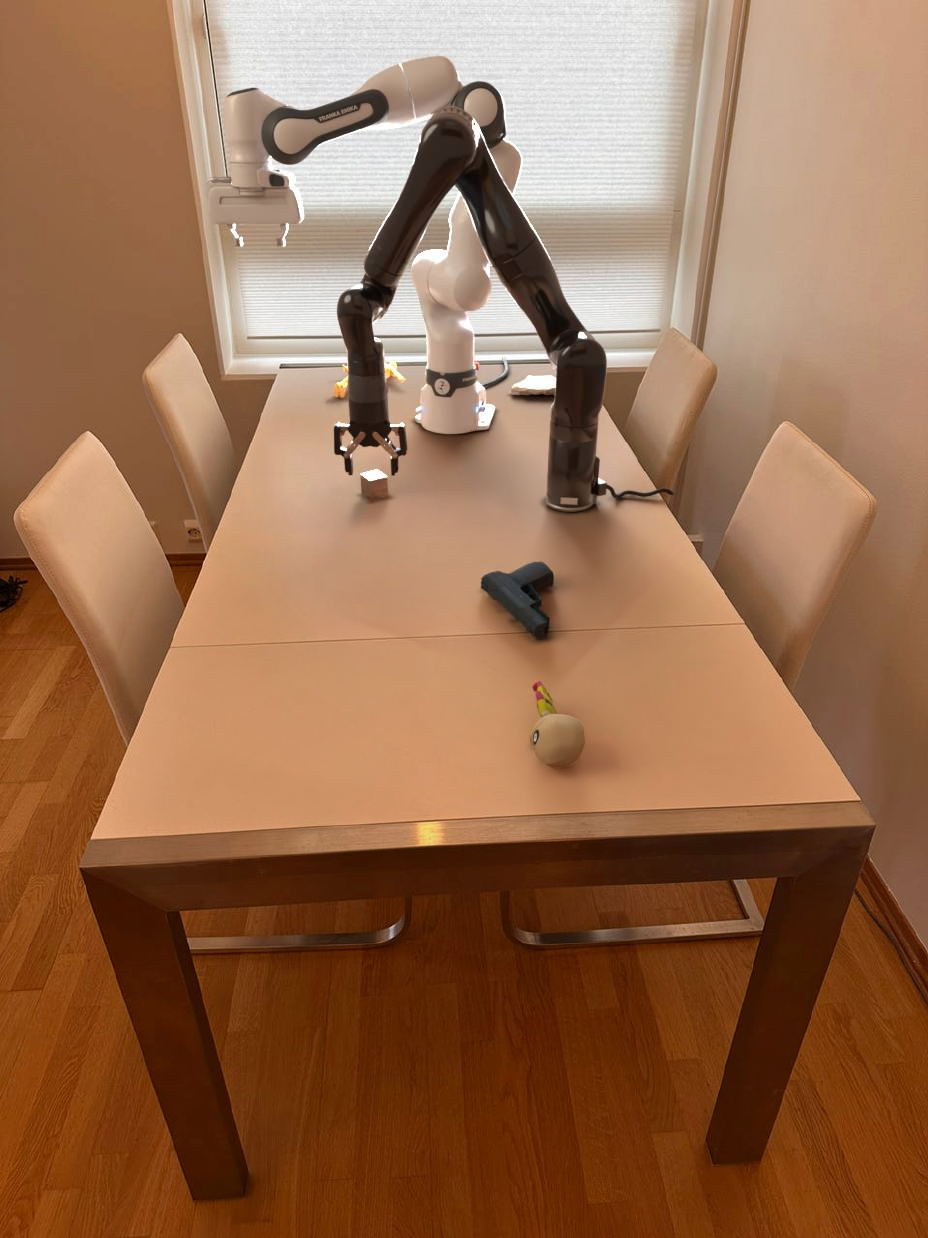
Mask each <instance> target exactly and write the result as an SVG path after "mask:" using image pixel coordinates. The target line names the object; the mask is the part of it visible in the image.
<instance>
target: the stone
mask: <svg viewBox="0 0 928 1238" xmlns="http://www.w3.org/2000/svg"><path fill="white" fill-rule="evenodd" d="M555 388H556V376H554V375H526V378H525V379H524V380H521V381H519V382H517V383H514V384H513V385H512V386H511V388H510V390H509V395H512V396H513V395H515V396H520V395H521V396H530V395H535V396H536V395H538V396H539V395H545V396H550V395H553V396H555Z"/></svg>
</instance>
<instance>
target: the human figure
mask: <svg viewBox="0 0 928 1238" xmlns="http://www.w3.org/2000/svg"><path fill="white" fill-rule="evenodd" d="M342 367H343V368H342V370H343V371H344V372H346V373H348V366H347V365H346V366H345V364H342ZM397 369H398V366H397V363H396V362H394V361H389V362H388V363H385V374H386V379H387V380H388V379H389V378H390V377H391V376H392V377H393V378H395V379H397V380H398V381H399V382H400V383H404V382H405V381H407V379H408V377H405V376H402V375H401V373H399V372H398V371H397ZM347 381H348V376H345V377H344V378H343V379H342V380H341V381H340V382H336V383H335V384H334V390H333V394H334V396H335V397H340V398H344V397H345V396H346V389H348V386H347Z"/></svg>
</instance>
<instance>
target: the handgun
mask: <svg viewBox="0 0 928 1238" xmlns="http://www.w3.org/2000/svg"><path fill="white" fill-rule="evenodd" d="M480 579H481V581H480V589H481V590H482V591H484V592H485V593H486V594H488V595H489V597H490V598H491V599H492V600H494V601H495V602H497V603H498V604H499V605H500V606H501V607H502V608H503V609H505V611H506V612H507V613H508V614H510V615H511V617H512V618H513V619H515V621H517V622H518V623H519V624H520V625H521V626H522V627H524V628H525V631H526V633H530V634H531V635H532V636H533V637H534V638H535V639H536V640H539V639H543V638H546V637H547V636H548V634H549V629H550V617H549V616H548V614H546V613H545V612H544V611H543V610H542V609H541V607H543V598H542V596H541V595H539V593H540V592H542V591H545V590H546V589H548V588H549V587H550V588H552V587H553V586H554V583H555V582H554V581H555V575H554V571H553V570H552V569H551V568H550V567H549V566H548V565H547V564H546V562H543V561H531V562H529V563H527V564H525V565H523V566H520V567H518V568H517V569H515V570H513V571H511V572H510V573H507V572H503V571H500V570H495V571H492V572H491V571H490V572H487V573H485V574H484V575H483V576H482V577H481V578H480Z"/></svg>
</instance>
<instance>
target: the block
mask: <svg viewBox="0 0 928 1238" xmlns="http://www.w3.org/2000/svg"><path fill="white" fill-rule="evenodd" d="M359 479H360V491H361V496H362V497H364V498H365V499H367V500H368V501H369V502H371V503H373V502H376V501H381V500H384V499H388V498H389V495H390V494H389V480H388V479H389V478H388V476H387V475H386V474H385V473H383V472H382V471H380V470H379V469H374V470H370V471H366V472H361V473H359Z"/></svg>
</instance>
